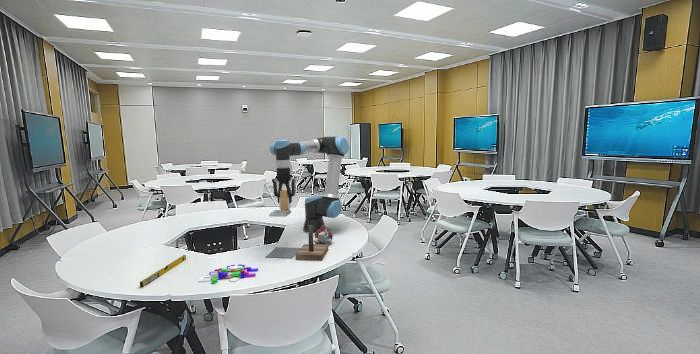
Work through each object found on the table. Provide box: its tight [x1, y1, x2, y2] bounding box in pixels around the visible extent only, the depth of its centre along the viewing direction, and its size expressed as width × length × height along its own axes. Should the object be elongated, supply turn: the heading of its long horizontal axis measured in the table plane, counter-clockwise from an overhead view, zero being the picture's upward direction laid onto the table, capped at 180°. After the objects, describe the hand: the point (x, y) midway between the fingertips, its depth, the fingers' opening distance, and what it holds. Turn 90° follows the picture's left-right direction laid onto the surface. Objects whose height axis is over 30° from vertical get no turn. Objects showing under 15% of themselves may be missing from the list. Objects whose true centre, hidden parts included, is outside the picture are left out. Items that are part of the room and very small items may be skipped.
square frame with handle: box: [269, 189, 292, 218], centre depth 185 cm, size 14×9×12 cm, turn 172°
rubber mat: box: [264, 246, 301, 259], centre depth 188 cm, size 16×15×1 cm
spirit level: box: [139, 254, 187, 288], centre depth 165 cm, size 33×1×3 cm, turn 175°
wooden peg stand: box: [294, 225, 329, 262], centre depth 183 cm, size 17×14×17 cm
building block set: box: [197, 263, 259, 285], centre depth 161 cm, size 25×20×4 cm
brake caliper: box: [313, 225, 333, 246], centre depth 202 cm, size 11×11×12 cm
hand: (285, 208), depth 191 cm, fingers closed on square frame with handle, 4 cm apart
